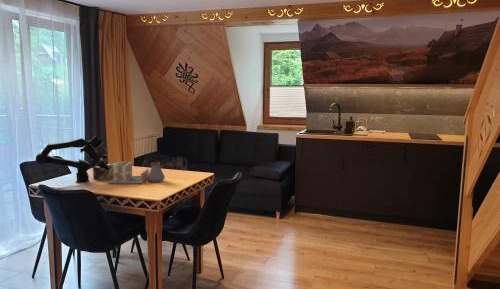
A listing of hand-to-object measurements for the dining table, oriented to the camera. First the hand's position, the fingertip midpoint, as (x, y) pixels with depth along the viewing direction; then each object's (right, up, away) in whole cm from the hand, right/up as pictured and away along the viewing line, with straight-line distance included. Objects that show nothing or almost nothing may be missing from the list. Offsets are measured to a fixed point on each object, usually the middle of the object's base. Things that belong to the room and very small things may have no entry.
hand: (109, 169), depth 254 cm
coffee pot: (+36, -9, -3) cm, 37 cm away
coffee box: (-1, -1, +17) cm, 17 cm away
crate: (+9, -7, +1) cm, 12 cm away
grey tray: (+14, -8, +1) cm, 16 cm away
